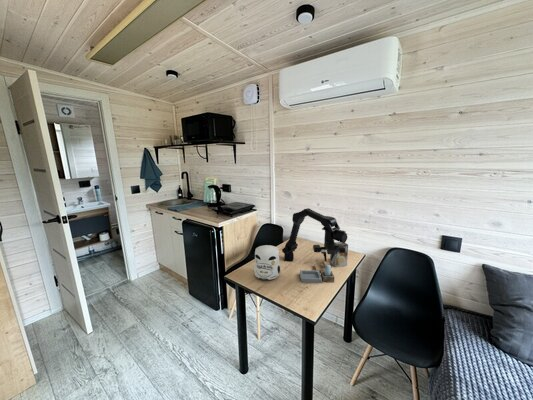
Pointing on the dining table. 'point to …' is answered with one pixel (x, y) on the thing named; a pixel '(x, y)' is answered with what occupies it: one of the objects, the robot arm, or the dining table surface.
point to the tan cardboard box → (319, 267)
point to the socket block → (327, 277)
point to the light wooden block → (326, 264)
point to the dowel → (327, 270)
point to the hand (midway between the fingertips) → (328, 261)
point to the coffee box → (340, 256)
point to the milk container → (267, 262)
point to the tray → (310, 276)
